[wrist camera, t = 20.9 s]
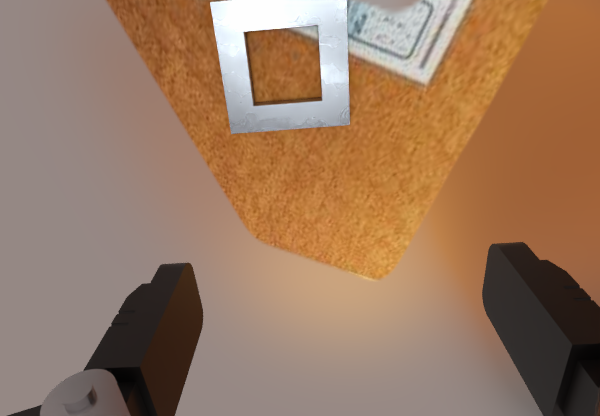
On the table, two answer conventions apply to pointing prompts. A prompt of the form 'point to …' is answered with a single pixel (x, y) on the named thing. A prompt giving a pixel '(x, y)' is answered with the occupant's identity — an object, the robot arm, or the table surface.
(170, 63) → the table surface
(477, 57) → the table surface
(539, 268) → the robot arm
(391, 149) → the table surface
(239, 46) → the socket plate
